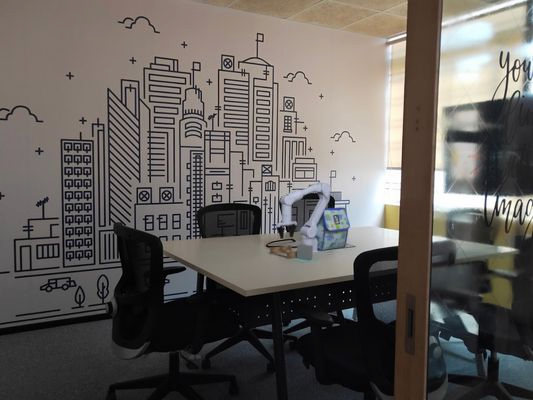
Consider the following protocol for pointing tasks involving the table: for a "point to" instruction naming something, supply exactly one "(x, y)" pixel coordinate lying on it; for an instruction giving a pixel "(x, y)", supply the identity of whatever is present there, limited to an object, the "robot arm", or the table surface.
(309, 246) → the gray rectangular block
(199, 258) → the table surface
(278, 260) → the table surface
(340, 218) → the lunch bag
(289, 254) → the walnut rack
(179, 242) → the table surface
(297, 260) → the teal mat
